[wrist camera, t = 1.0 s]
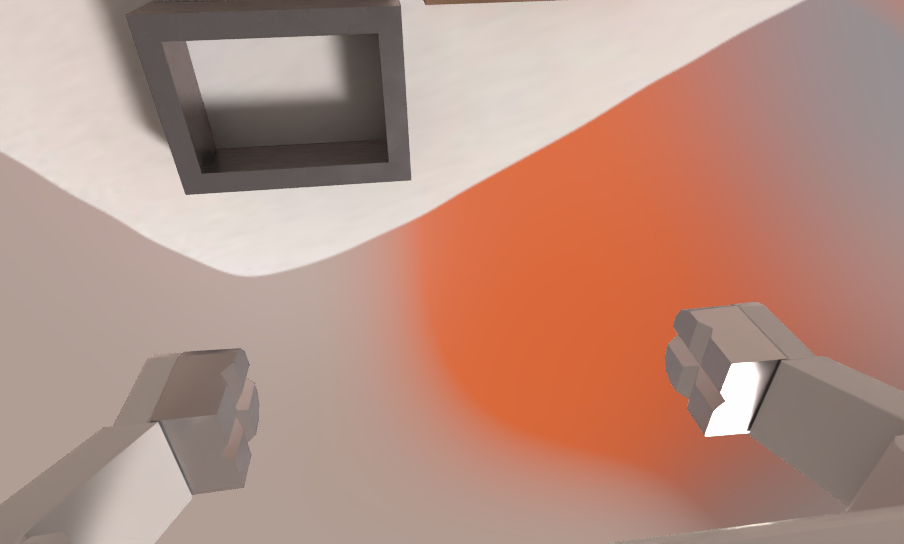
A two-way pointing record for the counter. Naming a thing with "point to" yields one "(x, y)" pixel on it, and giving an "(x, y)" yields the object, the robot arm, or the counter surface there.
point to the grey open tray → (272, 167)
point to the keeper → (471, 1)
